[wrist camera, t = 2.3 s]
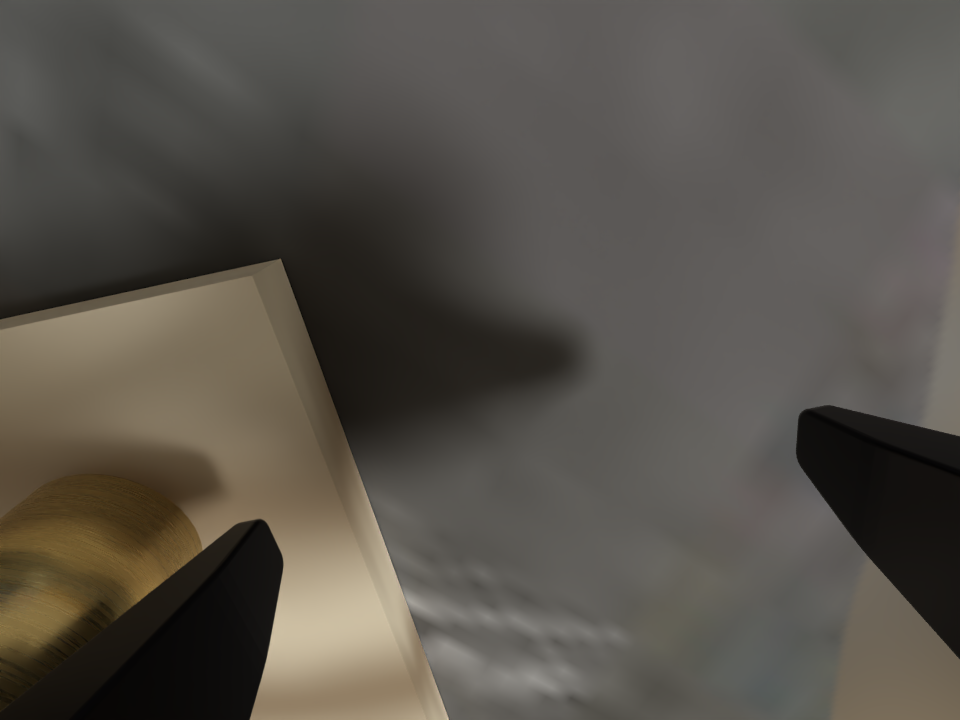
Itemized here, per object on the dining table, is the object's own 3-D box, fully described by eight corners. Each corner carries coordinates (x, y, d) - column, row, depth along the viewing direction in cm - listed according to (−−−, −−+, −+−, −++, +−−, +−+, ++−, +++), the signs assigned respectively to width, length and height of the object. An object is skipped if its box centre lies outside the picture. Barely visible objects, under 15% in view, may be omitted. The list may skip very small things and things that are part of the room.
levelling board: (480, 804, 17) (483, 871, 16) (1, 894, 18) (-43, 967, 16) (280, 258, 10) (246, 278, 8) (-563, 440, 10) (-755, 495, 8)
